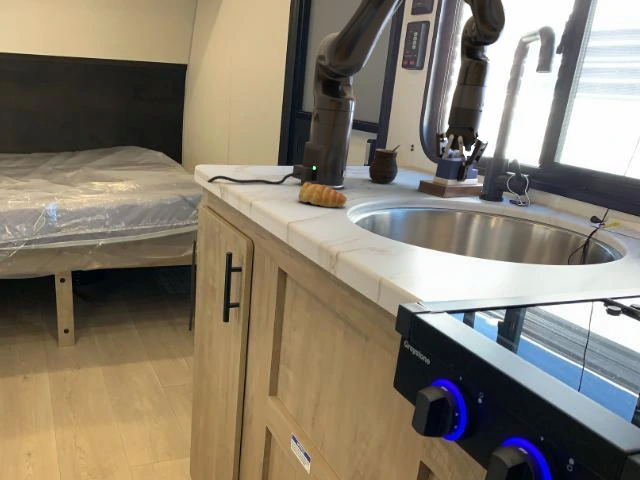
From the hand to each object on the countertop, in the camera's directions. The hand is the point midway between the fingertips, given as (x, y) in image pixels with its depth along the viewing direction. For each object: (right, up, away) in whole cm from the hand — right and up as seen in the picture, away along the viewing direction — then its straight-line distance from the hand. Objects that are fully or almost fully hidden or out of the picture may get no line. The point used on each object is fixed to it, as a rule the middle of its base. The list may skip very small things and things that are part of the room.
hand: (452, 179), depth 146 cm
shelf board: (+1, -3, +2) cm, 4 cm away
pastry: (-36, -10, -24) cm, 44 cm away
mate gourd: (-15, +1, +8) cm, 17 cm away
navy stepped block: (+1, -1, +1) cm, 1 cm away
